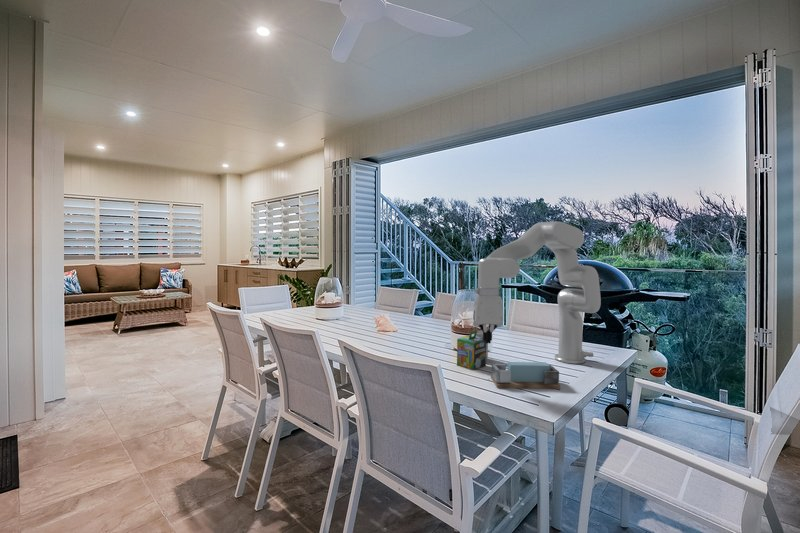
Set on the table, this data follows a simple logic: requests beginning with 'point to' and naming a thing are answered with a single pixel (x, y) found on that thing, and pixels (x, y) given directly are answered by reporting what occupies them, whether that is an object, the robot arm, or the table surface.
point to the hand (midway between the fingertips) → (487, 342)
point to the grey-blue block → (528, 371)
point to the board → (549, 382)
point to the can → (480, 334)
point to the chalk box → (471, 351)
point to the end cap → (501, 373)
